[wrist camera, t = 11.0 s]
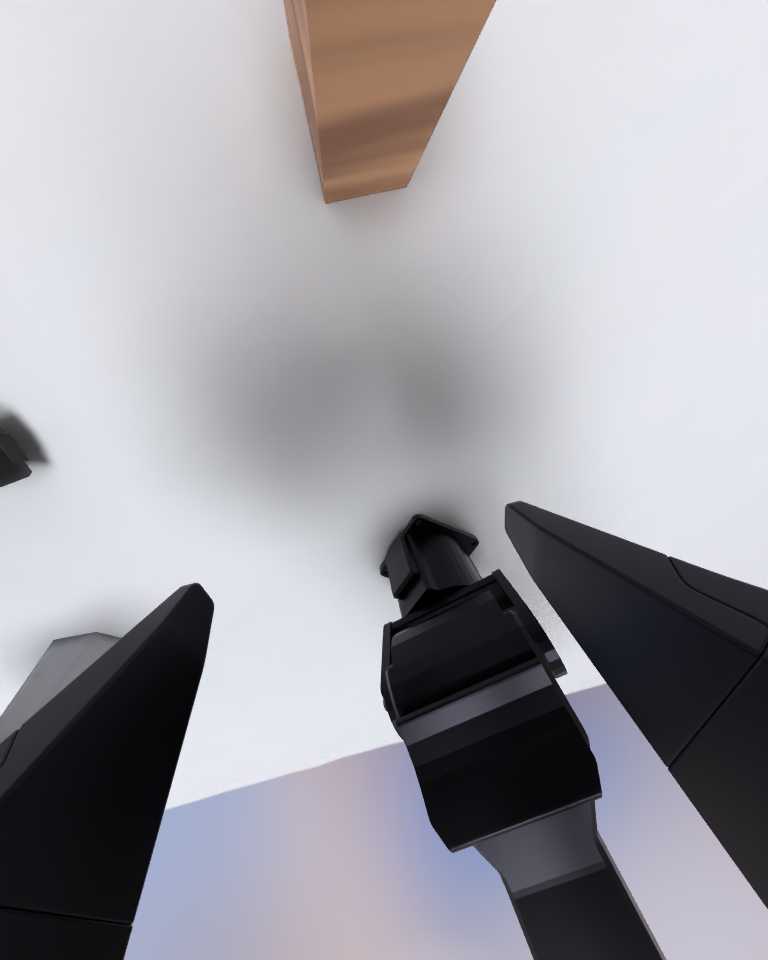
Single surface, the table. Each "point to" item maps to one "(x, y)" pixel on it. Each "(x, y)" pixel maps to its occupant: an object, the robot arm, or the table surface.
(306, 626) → the table surface
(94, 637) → the coffee maker
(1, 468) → the magazine
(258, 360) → the table surface
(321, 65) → the wooden post
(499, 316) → the table surface
